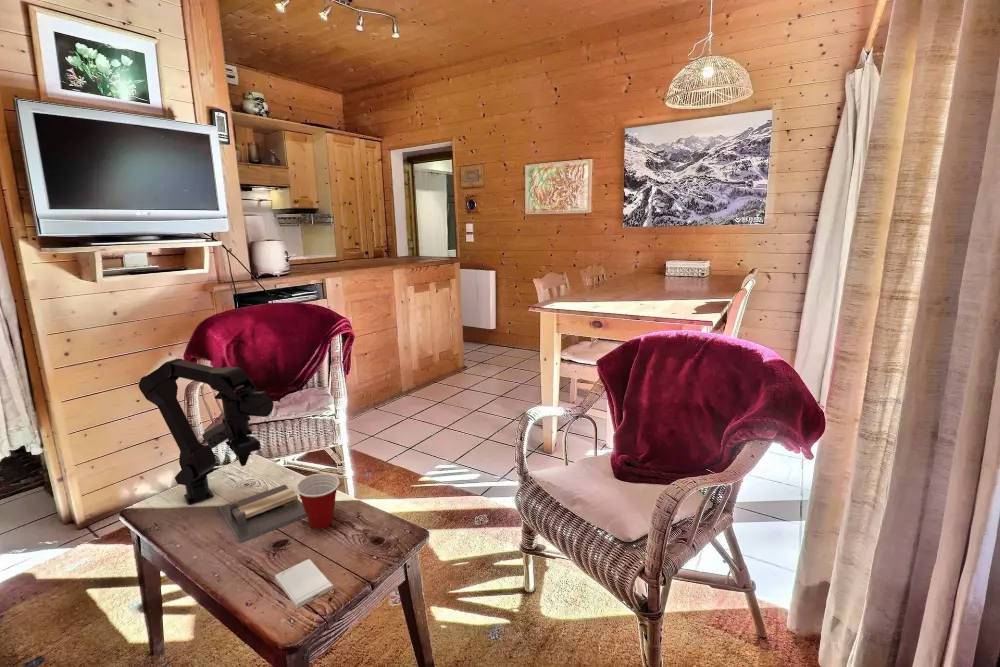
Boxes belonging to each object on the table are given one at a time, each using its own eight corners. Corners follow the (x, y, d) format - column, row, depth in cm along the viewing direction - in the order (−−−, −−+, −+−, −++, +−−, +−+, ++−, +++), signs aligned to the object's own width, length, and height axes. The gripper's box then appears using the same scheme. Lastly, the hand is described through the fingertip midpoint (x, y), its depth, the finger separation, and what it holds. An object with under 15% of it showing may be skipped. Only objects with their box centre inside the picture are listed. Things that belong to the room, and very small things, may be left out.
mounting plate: (219, 509, 142) (217, 496, 141) (285, 487, 153) (283, 474, 152) (239, 543, 127) (236, 528, 126) (310, 515, 138) (308, 501, 137)
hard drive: (274, 574, 114) (296, 603, 105) (309, 558, 119) (333, 584, 110) (275, 581, 114) (297, 610, 105) (310, 564, 119) (334, 590, 111)
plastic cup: (316, 541, 127) (312, 498, 124) (292, 526, 133) (287, 485, 131) (351, 520, 136) (347, 479, 133) (326, 507, 142) (322, 468, 139)
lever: (232, 515, 137) (231, 509, 136) (291, 492, 147) (290, 487, 146) (237, 523, 133) (236, 517, 133) (297, 499, 143) (297, 493, 143)
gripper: (195, 412, 140) (203, 463, 144) (210, 432, 126) (219, 488, 130) (238, 402, 147) (245, 451, 151) (257, 420, 133) (264, 473, 137)
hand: (243, 465), depth 142 cm, fingers closed
